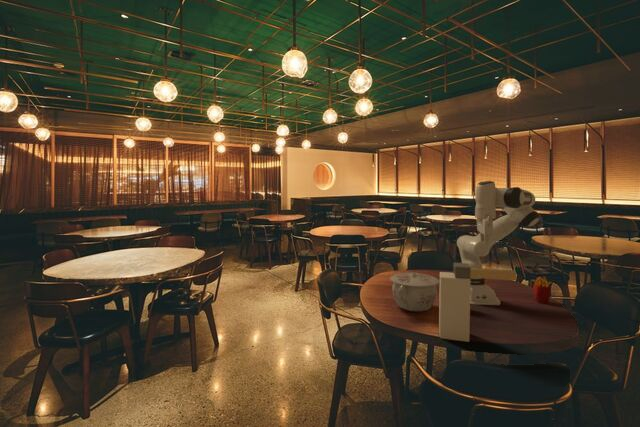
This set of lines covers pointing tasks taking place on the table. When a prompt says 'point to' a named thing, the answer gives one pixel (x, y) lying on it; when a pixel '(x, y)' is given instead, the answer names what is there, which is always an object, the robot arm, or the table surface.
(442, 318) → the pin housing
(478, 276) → the wooden rectangular plunger
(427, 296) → the chamber pot
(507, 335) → the table surface
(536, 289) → the french fries
